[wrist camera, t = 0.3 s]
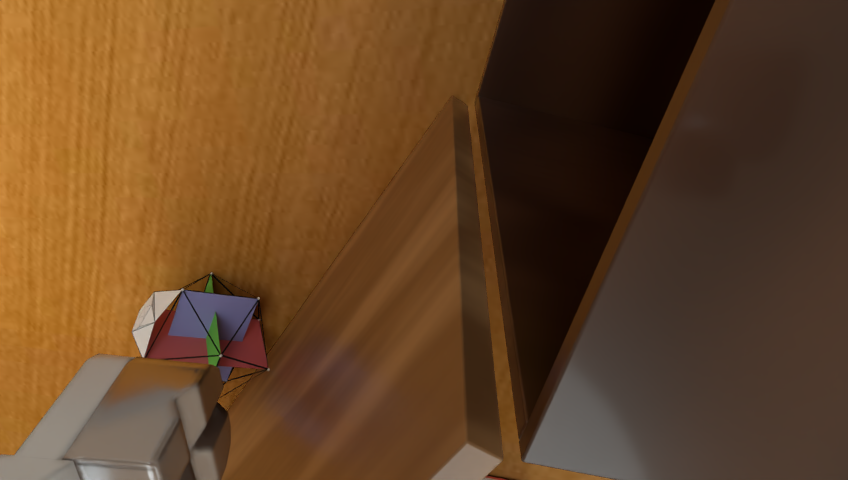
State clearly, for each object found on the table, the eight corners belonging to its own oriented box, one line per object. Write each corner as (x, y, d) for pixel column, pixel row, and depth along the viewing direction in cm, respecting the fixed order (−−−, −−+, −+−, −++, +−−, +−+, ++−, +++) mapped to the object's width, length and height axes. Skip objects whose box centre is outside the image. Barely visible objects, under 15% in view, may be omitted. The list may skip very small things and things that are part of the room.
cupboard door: (557, 164, 36) (701, 559, 16) (309, 459, 47) (215, 897, 28) (451, 95, 34) (466, 441, 14) (221, 418, 46) (53, 856, 26)
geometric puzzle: (316, 315, 39) (200, 360, 32) (279, 396, 42) (166, 452, 35) (239, 240, 41) (117, 268, 35) (210, 322, 44) (93, 362, 38)
